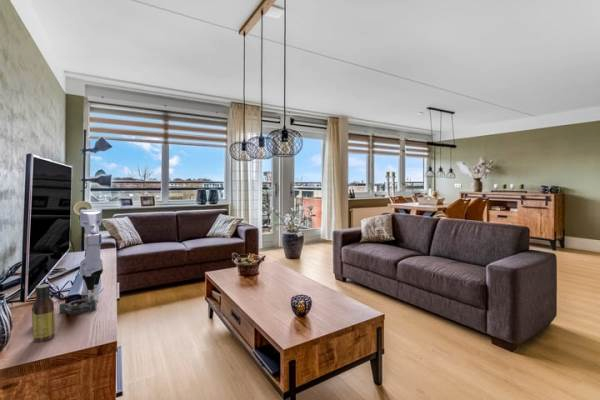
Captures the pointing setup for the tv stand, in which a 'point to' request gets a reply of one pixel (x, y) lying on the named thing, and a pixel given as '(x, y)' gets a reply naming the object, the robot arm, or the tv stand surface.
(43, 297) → the sauce bottle
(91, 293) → the air tube
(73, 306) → the collar stand
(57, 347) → the tv stand surface
